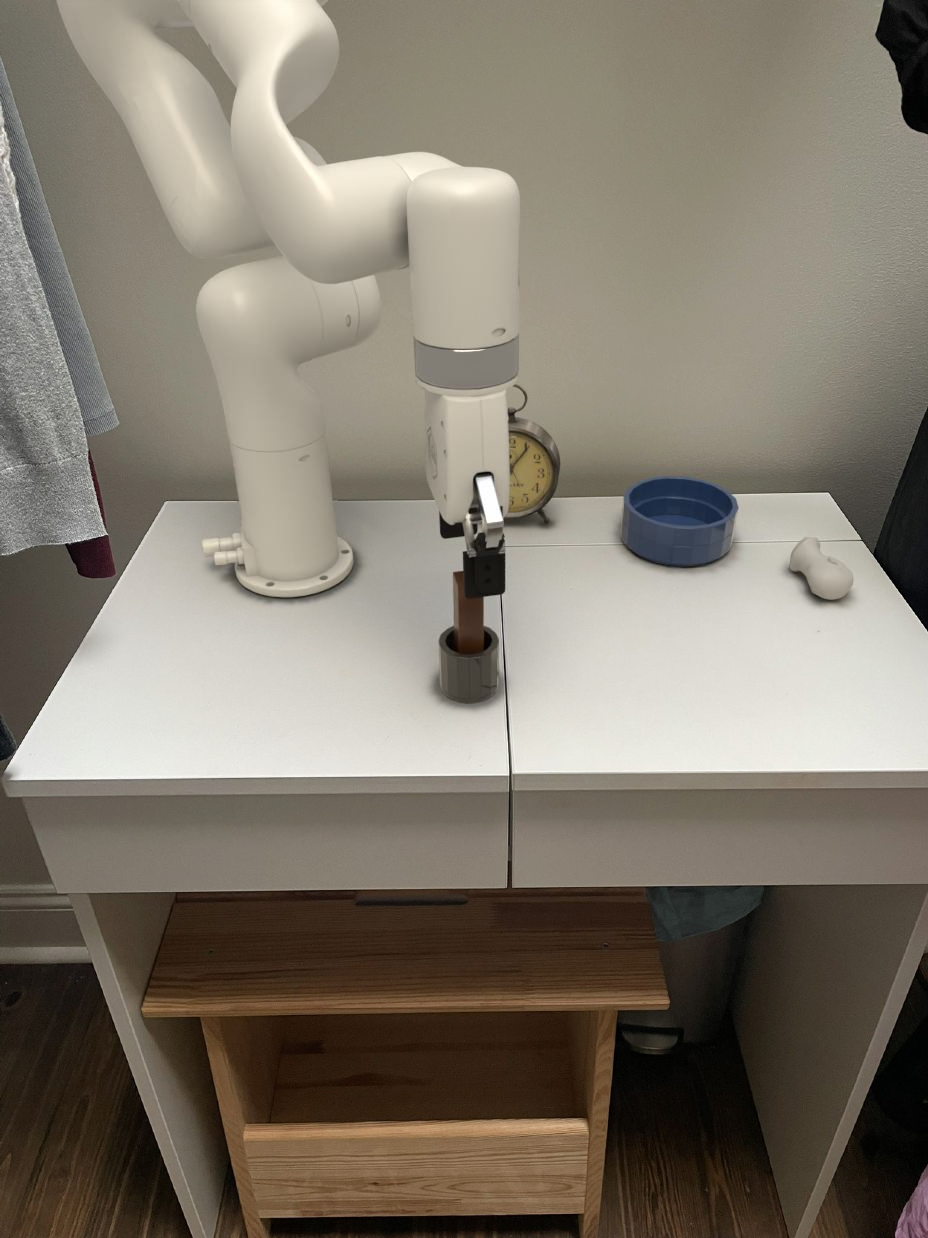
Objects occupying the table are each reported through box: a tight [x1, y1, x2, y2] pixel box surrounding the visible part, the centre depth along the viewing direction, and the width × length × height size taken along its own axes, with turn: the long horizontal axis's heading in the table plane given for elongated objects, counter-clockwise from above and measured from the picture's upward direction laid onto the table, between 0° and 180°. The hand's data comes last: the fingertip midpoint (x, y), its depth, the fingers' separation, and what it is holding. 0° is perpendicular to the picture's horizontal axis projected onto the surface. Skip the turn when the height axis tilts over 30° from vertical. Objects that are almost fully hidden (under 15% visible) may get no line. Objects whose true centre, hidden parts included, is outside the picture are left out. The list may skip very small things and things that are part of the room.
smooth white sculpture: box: [789, 536, 854, 601], centre depth 97 cm, size 4×8×5 cm
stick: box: [452, 570, 485, 655], centre depth 82 cm, size 2×2×11 cm
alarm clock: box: [477, 383, 561, 524], centre depth 106 cm, size 11×5×16 cm, turn 81°
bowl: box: [619, 475, 739, 567], centre depth 104 cm, size 12×12×5 cm
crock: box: [438, 625, 500, 704], centre depth 84 cm, size 5×5×5 cm
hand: (471, 563), depth 77 cm, fingers open, 9 cm apart
